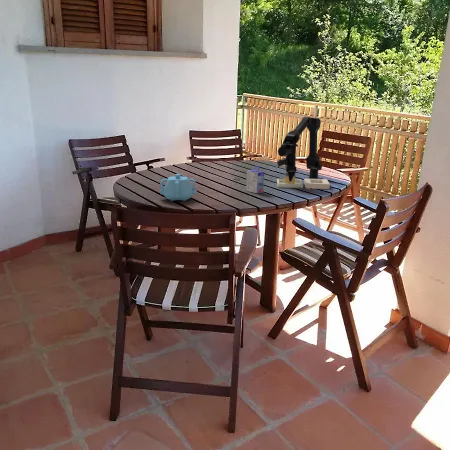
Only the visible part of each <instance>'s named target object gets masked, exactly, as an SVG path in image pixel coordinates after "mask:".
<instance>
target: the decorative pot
mask: <svg viewBox="0 0 450 450" xmlns="http://www.w3.org/2000/svg"><path fill="white" fill-rule="evenodd" d="M164 181H166V182H165V185H163V182H164ZM190 181H192V182H193V186H192V184H191V182H190ZM159 184H160V188H161V189H160V190H159V193H160V195H163V196H164V197H165V198H166V199H167V200H169V201H170V202H174V201H182V202H186V201H187V200H189V199H191V198H192V196H193V195H196V194H197V192H198V191H197V190H196V189H195V188H196V184H197V183H196V180H195V179H194V178H189V177H187V176H184V175H183V176H182V174H180V173H176V174H174V175H173V176H169V177H168V178H163V179H161V180H160V182H159Z"/></svg>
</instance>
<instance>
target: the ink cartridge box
mask: <svg viewBox="0 0 450 450" xmlns="http://www.w3.org/2000/svg"><path fill="white" fill-rule="evenodd" d="M260 168H261V167H260V166H257V165H256V166H255V167H254V168H253V169H249V170H246V186H245V191H247V192H250V193H254V194H262V193H264V185H265V183H264V182H265V180H264V179H265V171H262V170H260Z"/></svg>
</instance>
